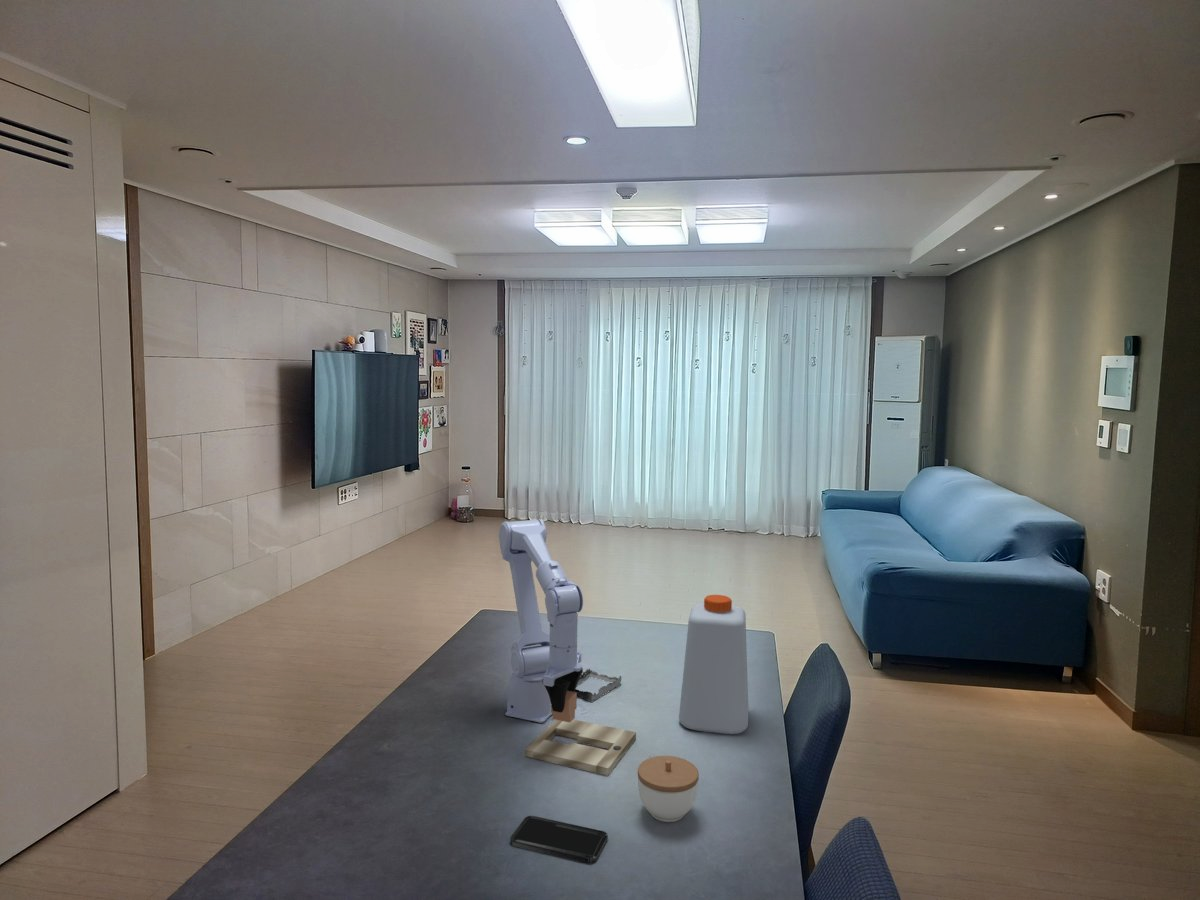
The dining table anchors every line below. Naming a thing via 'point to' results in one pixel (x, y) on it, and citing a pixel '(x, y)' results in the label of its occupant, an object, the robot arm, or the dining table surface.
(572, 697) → the slider block
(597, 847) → the phone
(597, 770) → the keyhole board
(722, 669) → the plastic bottle
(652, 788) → the lidded jar
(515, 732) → the dining table surface
